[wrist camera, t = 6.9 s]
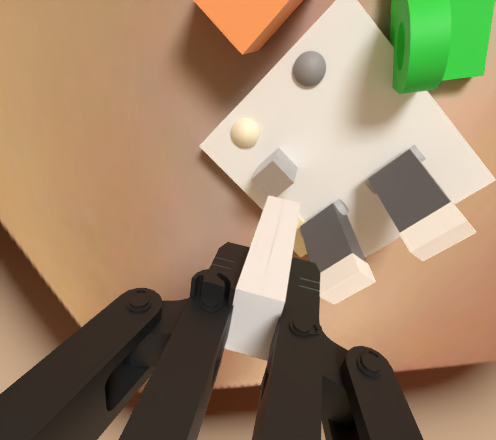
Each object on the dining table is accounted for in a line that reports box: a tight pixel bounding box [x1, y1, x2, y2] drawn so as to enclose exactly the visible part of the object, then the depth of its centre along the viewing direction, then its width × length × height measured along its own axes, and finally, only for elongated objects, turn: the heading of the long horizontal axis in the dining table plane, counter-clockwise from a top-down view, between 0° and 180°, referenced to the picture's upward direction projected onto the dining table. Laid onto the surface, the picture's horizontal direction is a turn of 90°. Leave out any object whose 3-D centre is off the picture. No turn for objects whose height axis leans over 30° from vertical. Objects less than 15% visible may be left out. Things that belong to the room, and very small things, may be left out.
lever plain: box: [364, 145, 477, 261], centre depth 25 cm, size 2×4×8 cm, turn 136°
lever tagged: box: [299, 199, 376, 304], centre depth 28 cm, size 2×4×8 cm, turn 135°
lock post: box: [251, 147, 298, 197], centre depth 28 cm, size 2×2×4 cm
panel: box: [199, 0, 496, 258], centre depth 29 cm, size 18×17×2 cm
